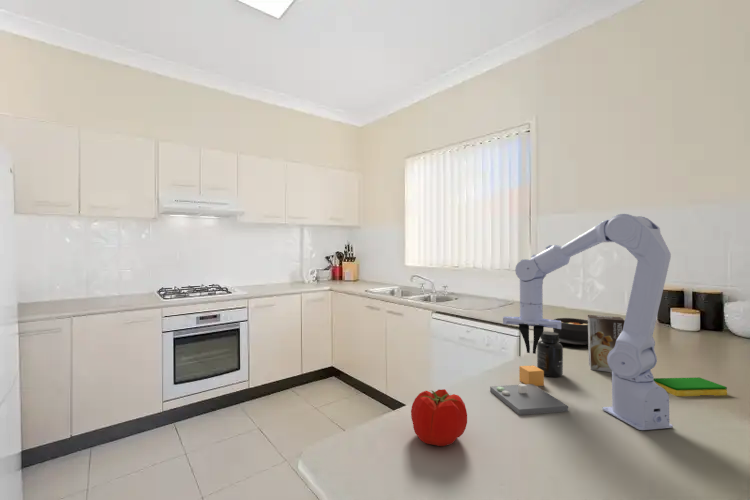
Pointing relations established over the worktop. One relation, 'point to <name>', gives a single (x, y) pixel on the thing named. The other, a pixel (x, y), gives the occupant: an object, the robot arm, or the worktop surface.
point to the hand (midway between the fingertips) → (531, 352)
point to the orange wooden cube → (531, 375)
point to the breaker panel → (528, 399)
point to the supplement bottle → (550, 354)
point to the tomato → (438, 417)
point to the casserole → (573, 331)
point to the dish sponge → (690, 386)
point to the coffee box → (602, 339)
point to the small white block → (522, 388)
